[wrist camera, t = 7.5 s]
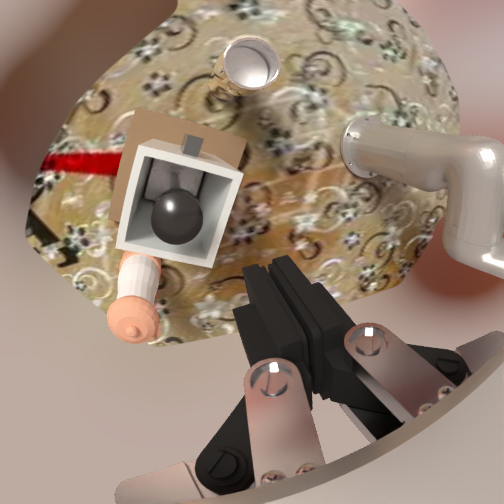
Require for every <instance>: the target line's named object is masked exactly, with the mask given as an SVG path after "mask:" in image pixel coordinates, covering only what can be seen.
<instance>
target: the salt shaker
mask: <svg viewBox="0 0 504 504" xmlns="http://www.w3.org/2000/svg"><path fill="white" fill-rule="evenodd" d="M119 271H120V273H119V276H118V295H117V299H116V301H115V302H113V303H112V304H111V306H110V307H109V309H108V312H107V321H108V325H109V328H110V329H111V331H112V332H113V333H114V334H115V336H117V337H118V338H119V339H121V340H122V341H125V342H128V343H133V344H138V343H143V342H146V341H147V340H149V339H150V338H152V337H153V336H154V335H155V333H156V332H157V330H158V328H159V323H160V320H159V315H158V313H157V311H156V309H155V307H154V299H155V296H156V293H157V289H158V285H159V279H160V275H161V258H160V257H155V256H150V255H145V254H141V253H136V252H131V251H127V250H126V251H125V252H124V254H123V256H122V259H121V262H120V267H119Z"/></svg>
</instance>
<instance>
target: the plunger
mask: <svg viewBox="0 0 504 504" xmlns="http://www.w3.org/2000/svg"><path fill="white" fill-rule="evenodd" d="M203 172H204V171H202V170H199V169H195V168H191V167H188V166H184V165H180V164H176V163H172V162H168V161H164V160H160V159H156V158H155V159H154V163H153V166H152V170H151V173H150V177H149V181H148V184H147V188H146V192H145V196H144V198H146V199H150V200H155V203H154V206H153V210H152V215H151V226H152V229H153V231H154V233H155V234H156V236H157V237H158V238H159V239H160V240H162V241H163V242H165V243H168V244H172V245H181V244H185V243H188V242H190V241H191V240H193V239H194V238H195V237H196V236H197V235H198V234H199V232H200V230H201V228H202V225H203V213H202V210H201V207H200V205H199V202H198V200H197V198H196V194H197V191H198V188H199V185H200V181H201V178H202V175H203Z"/></svg>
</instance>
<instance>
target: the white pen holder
mask: <svg viewBox="0 0 504 504" xmlns="http://www.w3.org/2000/svg"><path fill="white" fill-rule="evenodd" d="M247 141H248V139H245V138H242V137H239V136H236V135H233V134H230V133H227V132H224V131H221V130H218V129H215V128H212V127H208V126H205V125H202V124H198V123H195V122H191V121H188V120H184V119H180V118H177V117H173V116H169V115H165V114H161V113H157V112H153V111H149V110H144V109H140V108H136V111H135V114H134V117H133V120H132V123H131V126H130V129H129V132H128V136H127V139H126V143H125V146H124V150H123V154H122V157H121V161H120V165H119V169H118V173H117V178H116V182H115V186H114V191H113V196H112V201H111V206H110V211H109V217H108V220H112V221H117V222H120V225H119V231H118V236H117V242H116V248H118V249H122V250H127V251H131V252H136V253H141V254H145V255H150V256H155V257H160V258H164V259H169V260H174V261H179V262H184V263H189V264H194V265H199V266H204V267H209V268H212V266H213V263H214V260H215V257H216V254H217V251H218V248H219V245H220V242H221V239H222V236H223V233H224V230H225V227H226V224H227V221H228V218H229V215H230V212H231V209H232V206H233V203H234V200H235V197H236V194H237V192H238V189H239V186H240V183H241V180H242V177H243V175H244V174H243V173H242V172H240V171H239V170H237V168H238V166H239V163H240V160H241V157H242V154H243V152H244V149H245V146H246V143H247ZM155 158H156V159H160V160H164V161H168V162H172V163H176V164H180V165H184V166H188V167H191V168H195V169H199V170H202V171H204V172H203V175H202V178H201V181H200V185H199V188H198V191H197V194H196V198H197V200H198V202H199V205H200V207H201V210H202V213H203V225H202V228H201V230H200V232H199V234H198V235H197V236H196V237H195V238H194V239H193V240H191V241H190V242H188V243H185V244H181V245H172V244H168V243H165V242H163V241H162V240H160V239H159V238H158V237H157V236H156V234H155V233H154V231H153V229H152V226H151V215H152V210H153V206H154V203H155V200H150V199H146V198H144V196H145V192H146V188H147V184H148V181H149V177H150V173H151V170H152V166H153V163H154V159H155Z"/></svg>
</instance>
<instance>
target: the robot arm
mask: <svg viewBox="0 0 504 504" xmlns="http://www.w3.org/2000/svg"><path fill="white" fill-rule="evenodd" d="M340 147H341V155H342V159H343V161H344V163H345V165H346V167H347V168H348V169H349V170H350V171H351V172H352V173H353V174H355V175H357V176H359V177H363V178H371V177H375V176H377V175H381V176H384V177H387V178H390V179H393V180H396V181H398V182H401V183H404V184H407V185H409V186H412V187H415V188H417V189H420V190H423V191H427V192H433V191H438V190H441V189H443V188H445V187H447V186H448V194H447V196H448V199H447V207H446V214H445V221H444V227H443V235H442V242H443V246H444V249H445V251H446V252H447V253H448V254H449V255H450V256H451V257H452V258H454V259H455V260H457V261H459V262H461V263H463V264H465V265H468V266H471V267H474V268H476V269H479V270H481V271H484V272H487V273H490V274H492V275H495V276H498V277H500V278H502V279H504V237H502V236H503V232H504V145H503V144H502V143H500V142H499V141H497V140H495V139H493V138H489V137H485V136H475V135H455V134H445V133H438V132H432V131H425V130H419V129H412V128H405V127H398V126H389V125H384V124H383V123H382V122H381V121H380V120H379V119H377V118H375V117H372V116H359V117H356V118H354V119H353V120H351V121H350V122H349V123H348V124H347V126H346V127H345V129H344V131H343V134H342V138H341V146H340ZM268 270H269V273H268V271H267V270H266V268H265V267H264V266H262V267H259V266H258V264H254V265H251V266H247V267H244V268H242V271H243V276H244V280H245V284H246V288H247V293H248V297H249V301H250V304H248V305H245V306H241V307H238V308H234V309H232V310H233V314H234V317H235V320H236V324H237V327H238V330H239V333H240V337H241V339H242V343H243V346H244V349H245V352H246V355H247V358H248V361H249V364H250V367H251V368H250V369H249V370H248V371H247V373H246V375H245V378H244V391H245V395H244V397H243V398H242V399H241V401H240V402H239V404H238V405H237V406H236V408H235V409H234V410H233V412H232V413H231V414H230V416H229V417H228V418H227V420H226V421H225V423H224V424H223V425H222V426H221V428H220V429H219V430H218V432H217V433H216V434H215V436H214V437H213V438H212V440H211V441H210V442H209V443H208V445H207V446H206V447H205V448H204V450H203V451H202V452H201V454H200V455H199V457H198V458H197V459H196V460H193V461H191V462H188V463H185V462H181V463H178V464H175V465H173V466H170V467H167V468H164V469H161V470H158V471H155V472H151V473H148V474H145V475H142V476H138V477H135V478H131V479H128V480H126V481H123V482H121V483H120V485H119V486H118V487H117V488H116V491H115V502H116V504H504V333H503V332H500V331H494V332H490V333H488V334H486V335H484V336H482V337H480V338H478V339H475V340H473V341H471V342H469V343H466V344H464V345H461V346H459V347H457V348H456V350H455V351H451V350H447V349H439V348H432V347H424V346H417V345H411V344H406V343H404V342H403V341H402V340H401V339H399V338H398V337H397V336H396V335H395V334H393V333H392V332H391V331H390V330H388V329H387V328H386V327H384V326H382V325H379V324H376V323H362V324H359V325H356V324H355V323H354V322H353V321H352V320H351V318H350V317H349V316H348V315H347V314H346V313H345V311H344V310H343V309H342V308H341V306H340V305H339V304H338V303H337V302H336V300H335V299H334V298H333V297H332V296H331V295H330V293H329V292H328V291H327V290H326V289H325V287H324V286H323V285H322V284H321V283H319V282H317V283H314V284H311V283H310V282H309V280H308V279H307V278H306V277H305V275H304V274H303V273H302V272H301V270H300V269H299V268H298V267H297V266H296V264H295V263H294V262H293V261H292V259H291V258H290V257H289V256H288V255H285V256H282V257H278V258H275V259H273V260H272V264H269V265H268ZM312 392H313V393H314V394H317V393H319V394H320V395H321V397H322V399H323V400H325V399H327V398H330V400H331V401H333V402H337V403H339V405H340V406H341V408H342V410H343V411H344V412H345V413H346V414H347V416H348V417H349V418H350V419H351V421H352V422H353V423H354V424H355V425H356V427H357V428H358V429H359V430H360V431H361V432H362V434H363V435H364V436H365V437H366V438H367V439H368V441H369V442H370V443H371V444H370V445H368V446H366V447H364V448H362V449H360V450H358V451H356V452H354V453H351V454H349V455H347V456H345V457H343V458H340V459H338V460H336V461H334V462H331V463H329V464H325V460H324V457H323V453H322V450H321V446H320V442H319V439H318V435H317V431H316V428H315V424H314V421H313V417H312V414H311V410H312V409H313V408H312Z"/></svg>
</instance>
